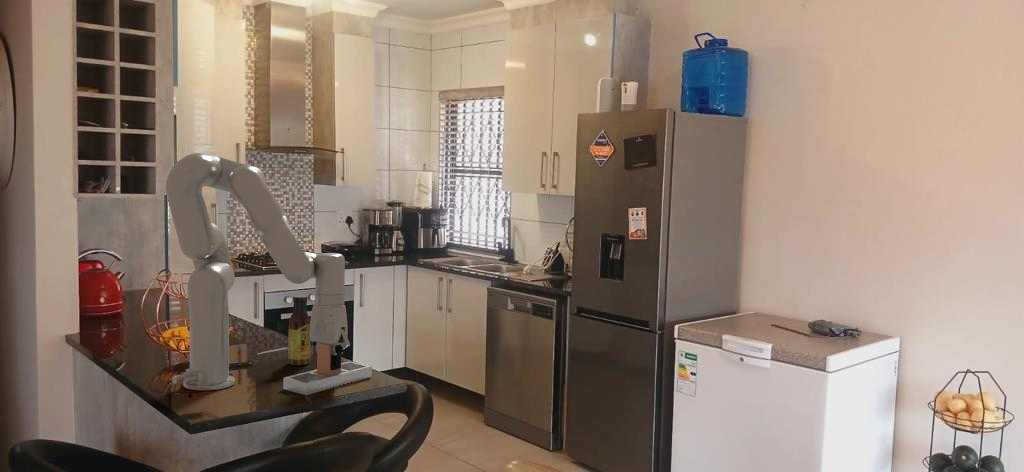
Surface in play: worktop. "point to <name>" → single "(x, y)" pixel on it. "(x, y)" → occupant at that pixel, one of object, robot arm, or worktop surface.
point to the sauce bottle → (299, 333)
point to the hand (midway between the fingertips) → (329, 366)
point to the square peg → (325, 360)
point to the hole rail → (326, 378)
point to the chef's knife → (273, 350)
